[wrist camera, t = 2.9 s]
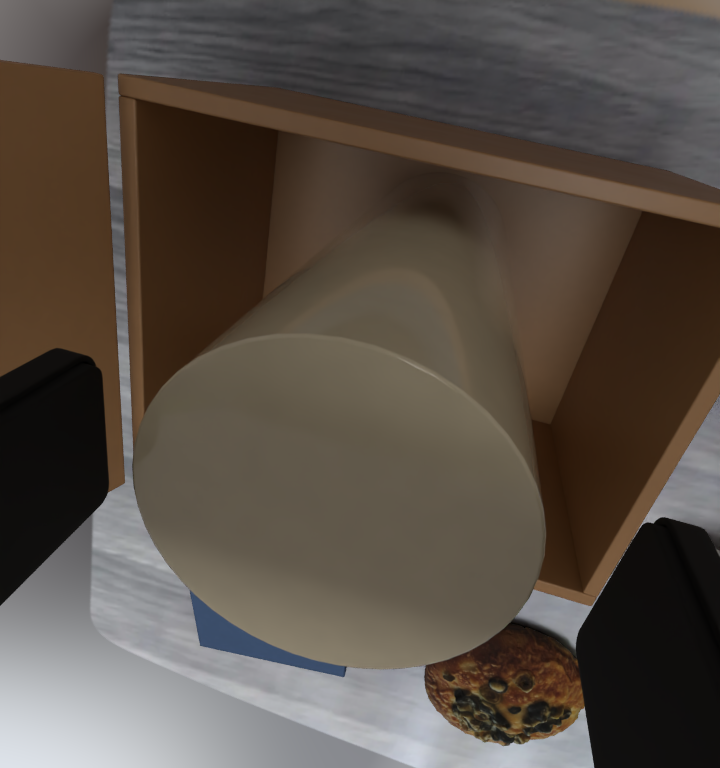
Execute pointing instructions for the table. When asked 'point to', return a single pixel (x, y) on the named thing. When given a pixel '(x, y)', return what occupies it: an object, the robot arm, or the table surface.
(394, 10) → the table surface
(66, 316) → the flap
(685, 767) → the robot arm
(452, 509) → the beige cylinder rod
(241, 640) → the mat
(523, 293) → the carton
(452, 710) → the bread roll
